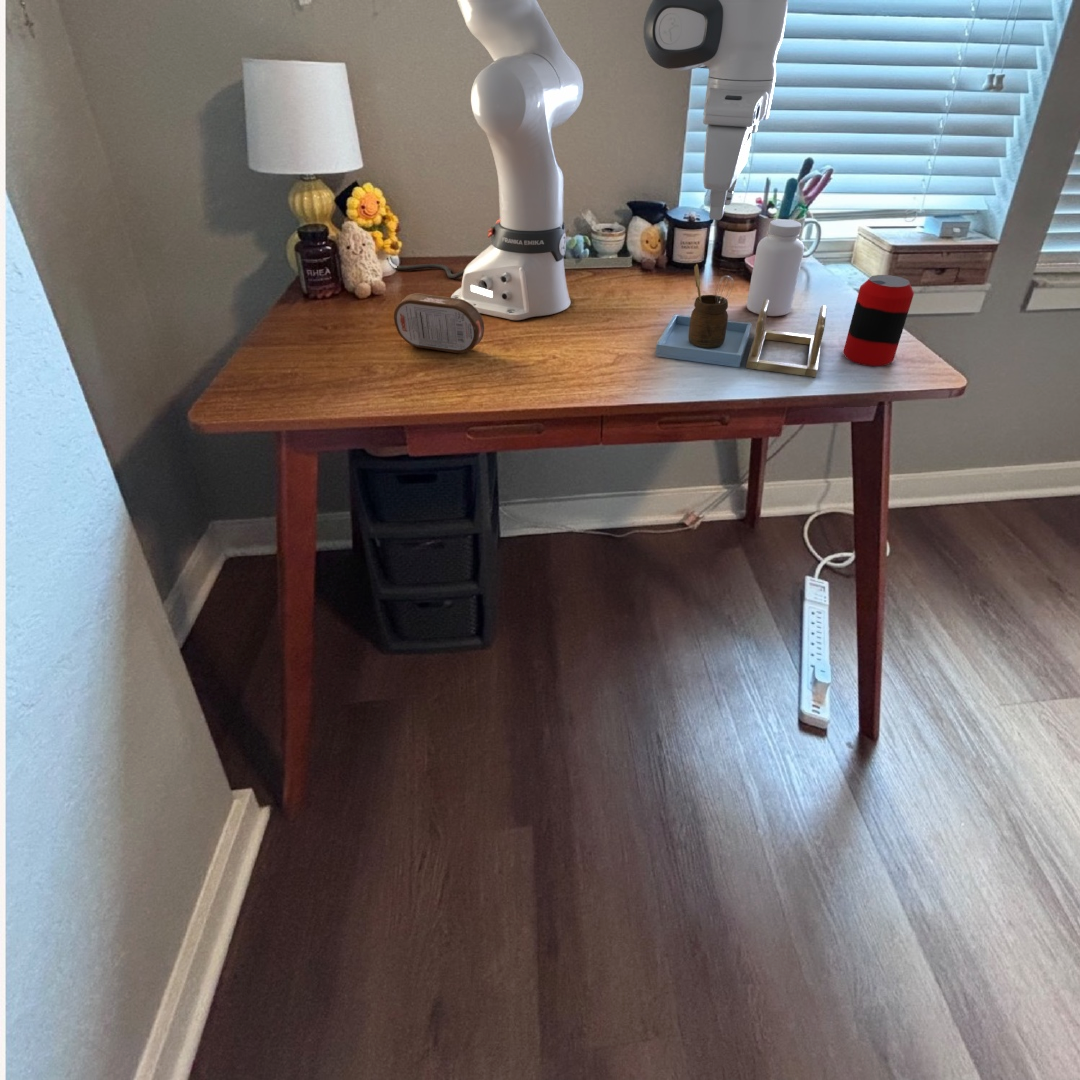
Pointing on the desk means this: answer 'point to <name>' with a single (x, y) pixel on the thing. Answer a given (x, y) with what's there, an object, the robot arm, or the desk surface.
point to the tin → (439, 323)
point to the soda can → (878, 320)
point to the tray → (679, 347)
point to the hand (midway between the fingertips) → (720, 211)
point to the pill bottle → (776, 268)
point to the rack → (763, 334)
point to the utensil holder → (708, 318)
